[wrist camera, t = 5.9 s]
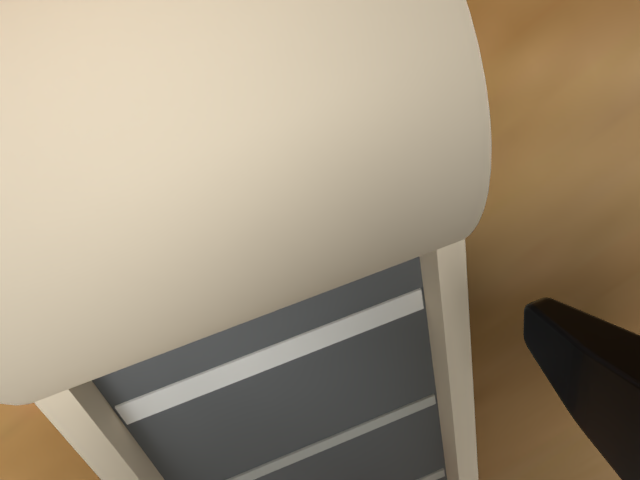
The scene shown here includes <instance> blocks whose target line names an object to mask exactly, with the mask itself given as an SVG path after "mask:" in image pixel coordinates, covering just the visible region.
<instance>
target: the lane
mask: <svg viewBox="0 0 640 480" xmlns="http://www.w3.org/2000/svg"><path fill="white" fill-rule="evenodd" d="M491 147H492V143H491V125H490V111H489V103H488V95H487V87H486V80H485V75H484V70H483V65H482V60H481V55H480V49H479V45H478V41H477V37H476V34H475V30H474V26H473V22H472V18H471V14H470V11H469V8H468V5H467V2H466V0H0V404H9V405H24V404H31V403H33V402H34V403H35V404H36V405H37V407H38V408H39V409H40V410H41V411H42V412H43V414H44V415H45V416H46V417H47V418H48V419H49V420H50V422H51V423H52V424H53V425H54V426H55V427H56V428H57V430H58V431H59V432H60V433H61V434H62V435H63V436H64V438H65V439H66V440H67V441H68V442H69V443H70V445H71V446H72V447H73V448H74V449H75V450H76V451H77V453H78V454H79V455H80V456H81V457H82V458H83V459H84V461H85V462H86V463H87V464H88V465H89V466H90V467H91V469H92V470H93V471H94V472H95V473H96V474H97V476H98V477H99V478H100V479H101V480H478V463H477V445H476V427H475V409H474V391H473V373H472V355H471V337H470V320H469V302H468V284H467V266H466V248H465V238H466V237H467V236H469V235H470V234H471V233H472V232H473V230H474V229H475V227H476V226H477V225H478V223H479V220H480V218H481V216H482V213H483V211H484V207H485V203H486V199H487V195H488V190H489V182H490V174H491Z"/></svg>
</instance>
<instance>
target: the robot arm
mask: <svg viewBox="0 0 640 480" xmlns="http://www.w3.org/2000/svg"><path fill="white" fill-rule="evenodd" d="M524 340H525V343H526V345H527V347H528V349H529V350H530V352H531V353H532V355H533V357H534V358H535V360H536V361H537V363H538V364H539V366H540V367H541V369H542V371H543V372H544V374H545V375H546V377H547V378H548V380H549V382H550V383H551V385H552V386H553V388H554V389H555V391H556V392H557V394H558V396H559V397H560V399H561V400H562V402H563V403H564V405H565V407H566V408H567V410H568V411H569V413H570V414H571V416H572V417H573V418H574V420H575V421H576V423H577V424H578V425H579V426H580V428H581V429H582V430H583V432H584V433H585V434H586V435H587V437H588V438H589V439H590V440H591V442H592V443H593V444H594V445H595V447H596V448H597V449H598V450H599V452H600V453H601V454H602V455H603V457H604V458H605V459H606V460H607V462H608V463H609V464H610V465H611V467H612V468H613V469H614V470H615V472H616V473H617V474H618V475H619V477H620V478H621V479H622V480H640V335H637V334H635V333H632V332H630V331H628V330H625V329H623V328H621V327H618V326H616V325H613V324H611V323H609V322H606V321H604V320H602V319H599V318H597V317H594V316H592V315H590V314H587V313H585V312H583V311H580V310H578V309H575V308H573V307H571V306H568V305H566V304H564V303H561V302H559V301H556V300H554V299H552V298H541V299H539V300H536V301H534V302H531V303H529V304H527V305H526V307H525V309H524Z"/></svg>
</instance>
